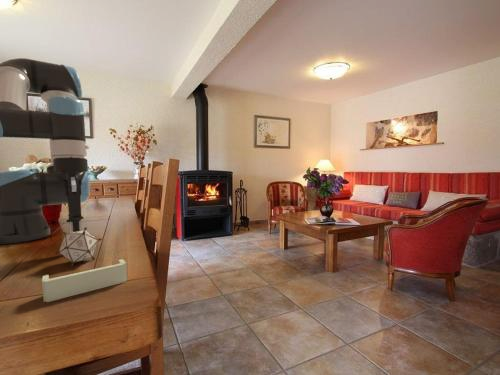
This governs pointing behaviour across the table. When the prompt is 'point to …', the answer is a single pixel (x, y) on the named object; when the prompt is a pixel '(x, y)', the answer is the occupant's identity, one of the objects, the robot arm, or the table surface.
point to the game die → (78, 246)
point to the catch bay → (83, 281)
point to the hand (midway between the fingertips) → (77, 244)
